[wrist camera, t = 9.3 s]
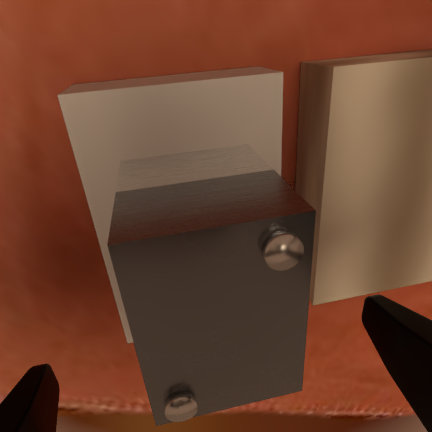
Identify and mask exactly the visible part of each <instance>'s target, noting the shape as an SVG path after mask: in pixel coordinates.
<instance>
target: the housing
mask: <svg viewBox="0 0 432 432" xmlns="http://www.w3.org/2000/svg"><path fill="white" fill-rule="evenodd" d="M315 218H316V210H315V209H314V208H313V207H312V206H311V205H310V204H309V203H308V202H307V201H306V200H305V199H304V198H303V197H301V196H300V195H299V194H298V193H297V192H296V191H295V190H294V189H293V188H292V187H291V186H290V185H289V184H288V183H287V182H286V181H285V180H284V179H283V178H282V177H281V176H280V175H279V174H278V173H277V172H276V171H275V170H274V169H273V168H272V167H271V166H270V165H269V164H268V163H267V162H266V161H265V160H264V159H263V158H261V157H260V156H259V155H258V154H257V153H256V152H255V151H254V150H253V149H252V148H251V147H250V146H249V145H248V144H246V145H238V146H231V147H223V148H215V149H208V150H200V151H193V152H185V153H177V154H170V155H162V156H155V157H147V158H139V159H132V160H124V161H120V167H119V174H118V180H117V186H116V193H115V199H114V205H113V212H112V218H111V224H110V231H109V237H108V243H107V246H108V250H109V253H110V257H111V261H112V264H113V268H114V272H115V276H116V279H117V283H118V287H119V290H120V294H121V298H122V301H123V305H124V309H125V313H126V316H127V320H128V324H129V327H130V331H131V335H132V338H133V342H134V346H135V349H136V353H137V357H138V361H139V364H140V368H141V372H142V375H143V379H144V383H145V386H146V390H147V394H148V398H149V401H150V405H151V409H152V412H153V416H154V420H155V423H156V426H158V425H162V424H166V423H170V422H181V421H185V420H188V419H190V418H192V417H195V416H199V415H203V414H208V413H212V412H216V411H220V410H224V409H228V408H232V407H236V406H241V405H245V404H249V403H253V402H257V401H261V400H265V399H270V398H274V397H278V396H282V395H286V394H290V393H294V392H298V391H302V384H303V371H304V359H305V346H306V333H307V320H308V307H309V295H310V282H311V269H312V256H313V243H314V230H315Z"/></svg>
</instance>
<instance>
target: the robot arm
mask: <svg viewBox="0 0 432 432" xmlns="http://www.w3.org/2000/svg"><path fill="white" fill-rule="evenodd" d="M362 322H363V325H364V327H365V329H366V331H367V333H368V335H369V337H370V338H371V340H372V342H373V344H374V346H375V348H376V350H377V352H378V353H379V355H380V357H381V359H382V361H383V363H384V365H385V367H386V368H387V370H388V372H389V373H390V375H391V377H392V378H393V380H394V381H395V383H396V384H397V386H398V387H399V389H400V390H401V392H402V393H403V395H404V396H405V398H406V399H407V401H408V402H409V404H410V406H411V407H412V409H413V410H414V412H415V413H416V415H417V416H418V417H419V419H420V421H421V422H422V424H423V425H424V427H425V428H426V430H427V431H428V432H432V320H430V319H428V318H426V317H424V316H422V315H420V314H418V313H416V312H414V311H412V310H410V309H408V308H406V307H404V306H402V305H400V304H398V303H396V302H394V301H392V300H390V299H388V298H386V297H384V296H382V295H373V296H368V297H366V299H365V301H364V306H363V312H362ZM58 402H59V383H58V381H57V379H56V377H55V374H54V372H53V370H52V368H51V366H50V365H49V364H41V365H37V366H33V367H31V368H30V369H29V370H28V371H27V372H26V374H25V375H24V376H23V377H22V378H21V380H20V381H19V382H18V383H17V385H16V386H15V387H14V388H13V389H12V391H11V392H10V393H9V394H8V395H7V397H6V398H5V399H4V400H3V401H2V403H1V404H0V432H56V425H57V414H58Z"/></svg>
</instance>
